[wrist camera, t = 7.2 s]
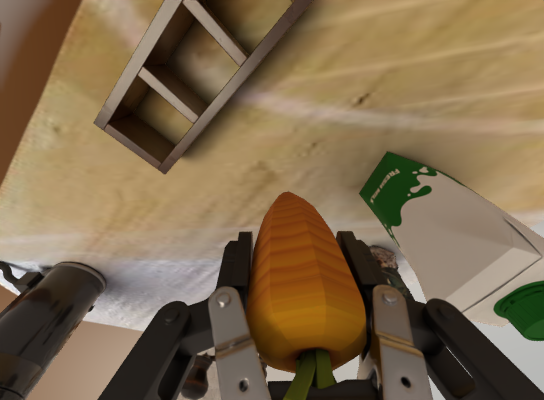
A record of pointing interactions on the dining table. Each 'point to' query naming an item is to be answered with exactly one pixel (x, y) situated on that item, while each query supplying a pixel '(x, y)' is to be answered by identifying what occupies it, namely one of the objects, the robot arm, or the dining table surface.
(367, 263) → the robot arm
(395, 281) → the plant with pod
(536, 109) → the dining table surface
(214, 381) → the decorative container
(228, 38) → the rack
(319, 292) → the carrot
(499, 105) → the dining table surface
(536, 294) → the milk carton
